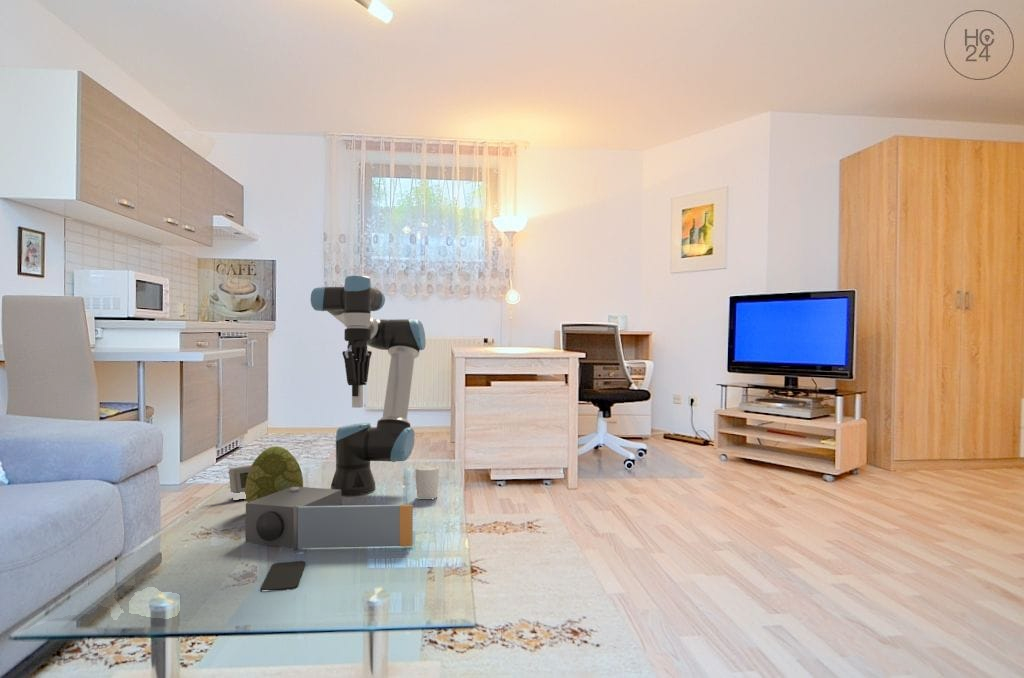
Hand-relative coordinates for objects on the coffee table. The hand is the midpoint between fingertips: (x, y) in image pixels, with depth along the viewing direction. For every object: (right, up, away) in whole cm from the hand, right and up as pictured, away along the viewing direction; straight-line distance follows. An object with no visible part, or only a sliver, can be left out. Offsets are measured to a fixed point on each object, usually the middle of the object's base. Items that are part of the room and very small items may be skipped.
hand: (357, 407), depth 171 cm
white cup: (+18, -33, +22) cm, 43 cm away
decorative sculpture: (-27, -33, +5) cm, 42 cm away
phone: (-4, -32, -45) cm, 56 cm away
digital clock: (-41, -33, +24) cm, 58 cm away
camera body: (-12, -32, -16) cm, 38 cm away
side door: (+6, -32, -28) cm, 42 cm away
